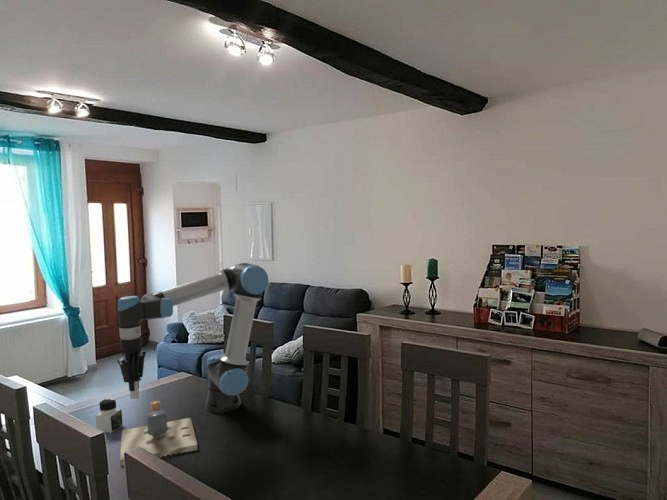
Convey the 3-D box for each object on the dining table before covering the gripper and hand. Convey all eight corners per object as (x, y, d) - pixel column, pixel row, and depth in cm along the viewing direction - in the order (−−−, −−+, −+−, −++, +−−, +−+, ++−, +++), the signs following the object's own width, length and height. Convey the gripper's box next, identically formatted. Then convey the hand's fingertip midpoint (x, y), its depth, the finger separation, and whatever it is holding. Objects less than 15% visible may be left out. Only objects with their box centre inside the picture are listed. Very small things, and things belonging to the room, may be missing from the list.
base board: (190, 422, 207) (190, 413, 207) (197, 449, 183) (196, 439, 182) (122, 435, 198) (121, 425, 197) (120, 465, 173) (119, 454, 173)
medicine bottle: (112, 433, 200) (109, 403, 199) (96, 432, 202) (93, 403, 200) (123, 425, 207) (120, 397, 206) (107, 424, 208) (105, 396, 207)
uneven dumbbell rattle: (169, 416, 203) (168, 398, 203) (171, 432, 188) (170, 413, 188) (143, 420, 200) (142, 403, 199) (144, 437, 185) (142, 418, 184)
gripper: (126, 342, 182) (130, 405, 184) (150, 333, 195) (154, 393, 196) (109, 341, 185) (114, 403, 187) (134, 332, 197) (138, 391, 199)
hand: (134, 398), depth 192 cm, fingers closed
